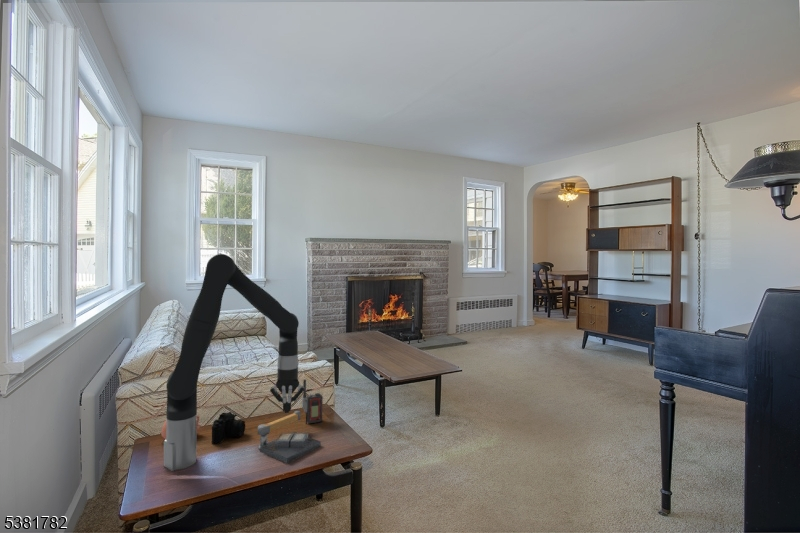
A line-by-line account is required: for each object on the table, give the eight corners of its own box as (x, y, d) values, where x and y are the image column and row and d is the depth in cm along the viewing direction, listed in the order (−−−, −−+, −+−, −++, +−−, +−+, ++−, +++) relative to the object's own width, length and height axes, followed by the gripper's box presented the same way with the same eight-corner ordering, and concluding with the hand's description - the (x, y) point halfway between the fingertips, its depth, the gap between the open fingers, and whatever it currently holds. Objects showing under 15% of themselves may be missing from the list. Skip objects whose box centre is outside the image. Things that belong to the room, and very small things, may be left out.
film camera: (232, 445, 152) (233, 422, 152) (208, 444, 153) (208, 421, 153) (249, 429, 168) (250, 407, 168) (227, 428, 168) (227, 407, 168)
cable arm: (262, 436, 148) (262, 428, 148) (255, 433, 150) (255, 425, 150) (303, 419, 164) (303, 412, 164) (295, 416, 167) (295, 409, 167)
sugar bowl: (165, 432, 163) (165, 407, 163) (203, 428, 168) (203, 404, 168) (157, 445, 152) (157, 418, 152) (198, 440, 156) (198, 414, 156)
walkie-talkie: (302, 427, 170) (302, 380, 170) (300, 423, 174) (301, 377, 174) (322, 424, 173) (323, 378, 173) (320, 420, 177) (321, 375, 177)
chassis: (286, 463, 139) (287, 451, 139) (260, 451, 147) (260, 440, 147) (320, 446, 152) (320, 435, 152) (294, 436, 160) (294, 426, 160)
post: (262, 450, 148) (262, 437, 148) (255, 447, 150) (255, 434, 150) (271, 446, 151) (271, 433, 151) (264, 444, 154) (264, 431, 154)
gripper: (268, 369, 146) (267, 416, 146) (305, 368, 149) (304, 414, 149) (270, 364, 153) (270, 409, 153) (306, 363, 156) (305, 407, 156)
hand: (286, 412), depth 151 cm, fingers closed
